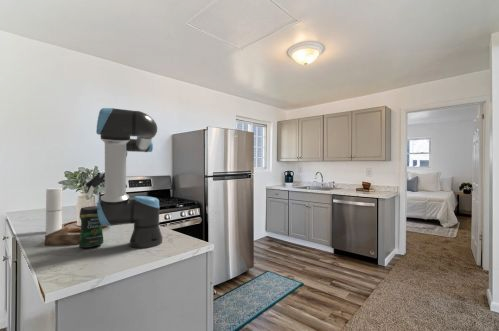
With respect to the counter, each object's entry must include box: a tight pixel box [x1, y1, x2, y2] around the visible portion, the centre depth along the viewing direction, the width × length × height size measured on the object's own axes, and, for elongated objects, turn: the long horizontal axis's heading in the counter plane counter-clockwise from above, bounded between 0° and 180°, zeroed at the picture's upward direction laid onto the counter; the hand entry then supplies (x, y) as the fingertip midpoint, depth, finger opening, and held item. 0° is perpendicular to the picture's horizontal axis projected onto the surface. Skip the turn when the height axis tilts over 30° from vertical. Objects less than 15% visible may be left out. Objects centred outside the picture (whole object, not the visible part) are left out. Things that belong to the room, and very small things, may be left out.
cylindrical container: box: [45, 187, 63, 235], centre depth 139 cm, size 7×7×25 cm
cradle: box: [44, 226, 80, 246], centre depth 124 cm, size 16×16×5 cm
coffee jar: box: [79, 205, 104, 248], centre depth 116 cm, size 10×8×19 cm
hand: (102, 197), depth 126 cm, fingers open, 13 cm apart
